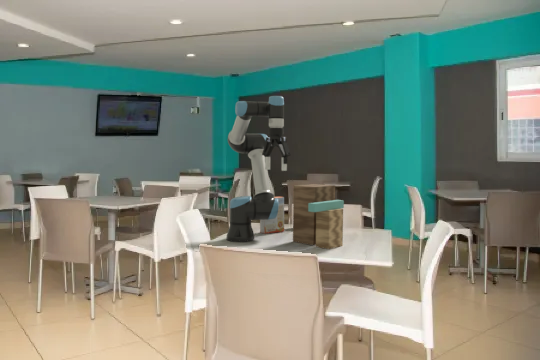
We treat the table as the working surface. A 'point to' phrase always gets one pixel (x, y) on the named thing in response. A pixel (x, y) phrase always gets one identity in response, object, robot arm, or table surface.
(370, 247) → the table surface
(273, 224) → the cracker box
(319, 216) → the short stand
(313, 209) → the batten
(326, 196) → the tall stand
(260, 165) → the robot arm
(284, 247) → the table surface
